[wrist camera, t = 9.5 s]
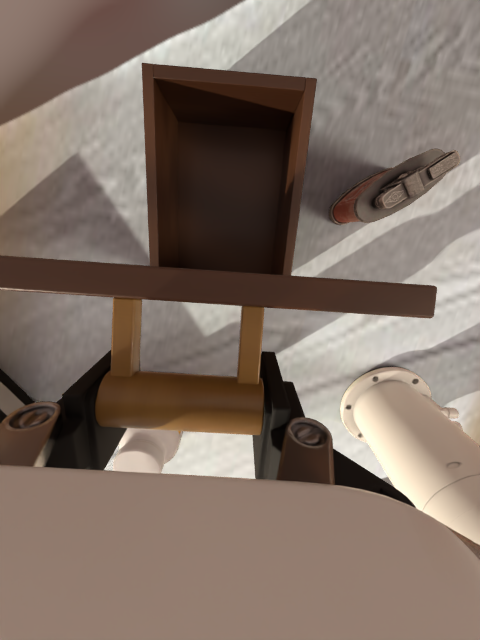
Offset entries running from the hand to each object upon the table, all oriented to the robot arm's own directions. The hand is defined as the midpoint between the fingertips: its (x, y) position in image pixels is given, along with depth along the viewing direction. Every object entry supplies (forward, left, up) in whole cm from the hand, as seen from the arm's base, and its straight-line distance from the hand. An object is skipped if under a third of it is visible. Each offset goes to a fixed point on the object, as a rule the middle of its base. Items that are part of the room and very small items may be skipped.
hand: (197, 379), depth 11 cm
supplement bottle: (+7, +16, -22) cm, 28 cm away
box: (0, -9, -22) cm, 24 cm away
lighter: (-15, -11, -22) cm, 29 cm away
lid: (0, -3, -5) cm, 6 cm away
